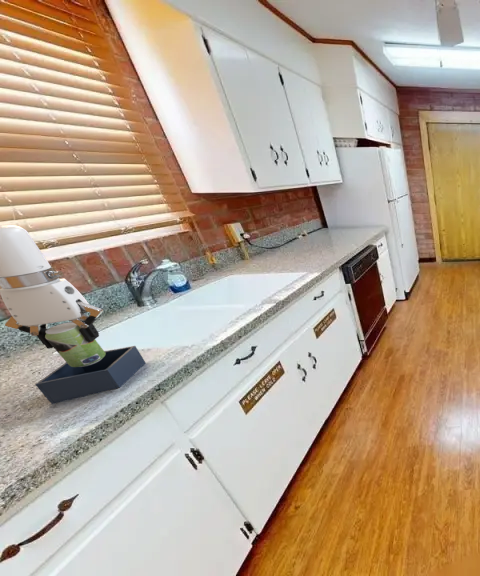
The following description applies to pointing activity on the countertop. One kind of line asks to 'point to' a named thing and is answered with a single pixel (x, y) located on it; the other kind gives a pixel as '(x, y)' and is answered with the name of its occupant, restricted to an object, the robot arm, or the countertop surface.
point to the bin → (92, 376)
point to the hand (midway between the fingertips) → (74, 341)
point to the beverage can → (74, 345)
